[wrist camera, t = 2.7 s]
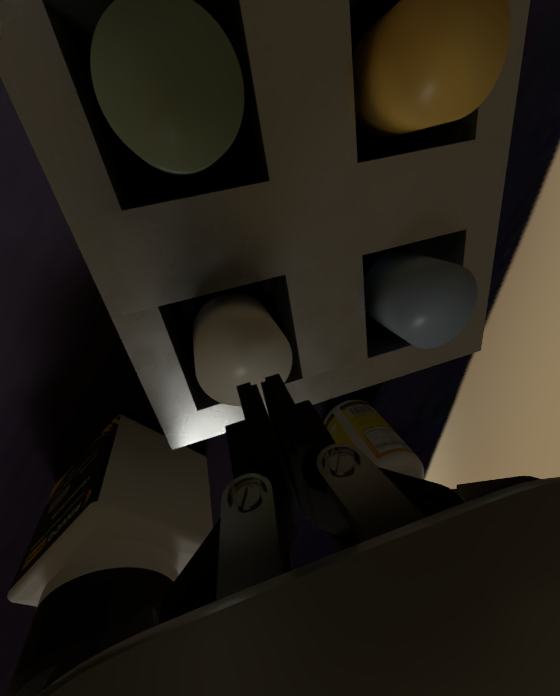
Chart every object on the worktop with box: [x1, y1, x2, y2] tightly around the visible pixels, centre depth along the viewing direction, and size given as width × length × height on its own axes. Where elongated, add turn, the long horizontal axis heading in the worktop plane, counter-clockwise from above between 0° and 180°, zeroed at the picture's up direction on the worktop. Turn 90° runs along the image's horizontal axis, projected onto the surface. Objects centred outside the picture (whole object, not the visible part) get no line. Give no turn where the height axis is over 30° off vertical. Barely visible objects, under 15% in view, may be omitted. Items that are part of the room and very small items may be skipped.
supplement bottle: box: [324, 400, 424, 480], centre depth 22 cm, size 5×5×8 cm
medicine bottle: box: [7, 415, 213, 696], centre depth 17 cm, size 7×7×12 cm
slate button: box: [364, 250, 478, 349], centre depth 18 cm, size 4×4×4 cm
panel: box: [0, 0, 530, 450], centre depth 16 cm, size 20×20×4 cm
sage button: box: [90, 0, 244, 176], centre depth 12 cm, size 4×4×4 cm
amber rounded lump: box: [352, 0, 511, 137], centre depth 13 cm, size 4×4×4 cm
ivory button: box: [192, 293, 292, 406], centre depth 16 cm, size 4×4×4 cm
